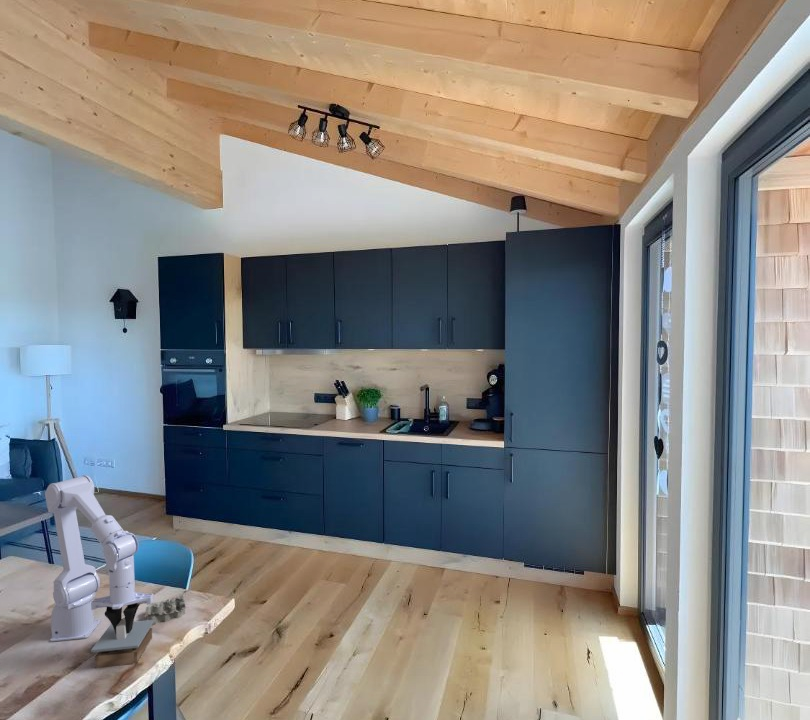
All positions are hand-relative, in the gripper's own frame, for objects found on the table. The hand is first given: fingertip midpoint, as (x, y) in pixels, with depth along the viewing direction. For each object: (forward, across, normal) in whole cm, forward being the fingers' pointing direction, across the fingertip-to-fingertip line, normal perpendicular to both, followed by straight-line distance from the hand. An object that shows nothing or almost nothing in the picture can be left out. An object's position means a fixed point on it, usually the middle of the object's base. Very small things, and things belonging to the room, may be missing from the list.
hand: (124, 631), depth 124 cm
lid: (+1, 0, 0) cm, 1 cm away
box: (+6, 0, 0) cm, 6 cm away
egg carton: (+6, +5, +16) cm, 18 cm away
